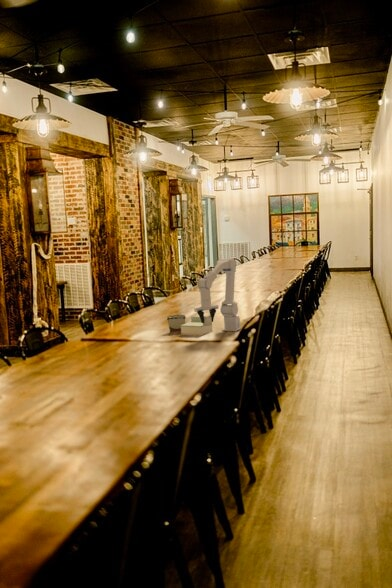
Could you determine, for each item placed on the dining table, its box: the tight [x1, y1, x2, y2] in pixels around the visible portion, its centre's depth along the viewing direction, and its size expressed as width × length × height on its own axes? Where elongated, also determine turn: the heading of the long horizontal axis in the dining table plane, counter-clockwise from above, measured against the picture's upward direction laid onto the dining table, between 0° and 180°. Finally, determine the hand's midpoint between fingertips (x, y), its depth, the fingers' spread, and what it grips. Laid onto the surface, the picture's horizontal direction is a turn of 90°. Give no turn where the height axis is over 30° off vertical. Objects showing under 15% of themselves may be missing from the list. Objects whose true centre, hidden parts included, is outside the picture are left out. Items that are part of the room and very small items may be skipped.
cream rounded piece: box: [203, 315, 213, 326], centre depth 323 cm, size 5×5×5 cm
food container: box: [166, 314, 187, 333], centre depth 349 cm, size 12×6×10 cm, turn 84°
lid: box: [181, 315, 203, 327], centre depth 340 cm, size 14×14×4 cm
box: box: [180, 324, 213, 336], centre depth 341 cm, size 14×14×5 cm
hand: (207, 322), depth 323 cm, fingers closed on cream rounded piece, 5 cm apart
